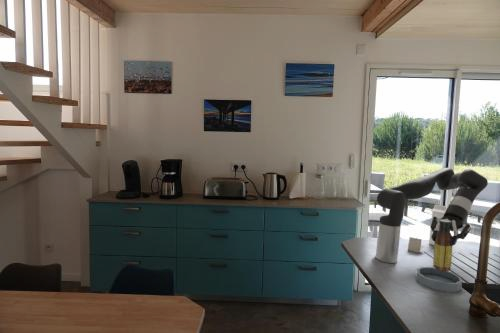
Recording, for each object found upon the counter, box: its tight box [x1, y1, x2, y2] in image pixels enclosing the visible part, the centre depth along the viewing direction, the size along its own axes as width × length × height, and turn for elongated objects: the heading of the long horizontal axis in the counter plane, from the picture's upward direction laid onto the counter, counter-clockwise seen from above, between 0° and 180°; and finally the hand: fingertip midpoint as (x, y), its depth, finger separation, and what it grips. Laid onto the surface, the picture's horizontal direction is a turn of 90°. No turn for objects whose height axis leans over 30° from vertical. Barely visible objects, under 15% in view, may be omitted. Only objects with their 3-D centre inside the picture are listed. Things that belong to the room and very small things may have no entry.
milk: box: [428, 204, 448, 246], centre depth 185 cm, size 6×6×22 cm
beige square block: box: [407, 236, 425, 253], centre depth 172 cm, size 3×7×7 cm, turn 58°
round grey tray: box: [415, 266, 463, 293], centre depth 134 cm, size 16×16×3 cm
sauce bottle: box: [432, 219, 453, 272], centre depth 133 cm, size 7×6×20 cm
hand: (441, 242), depth 132 cm, fingers closed on sauce bottle, 6 cm apart
